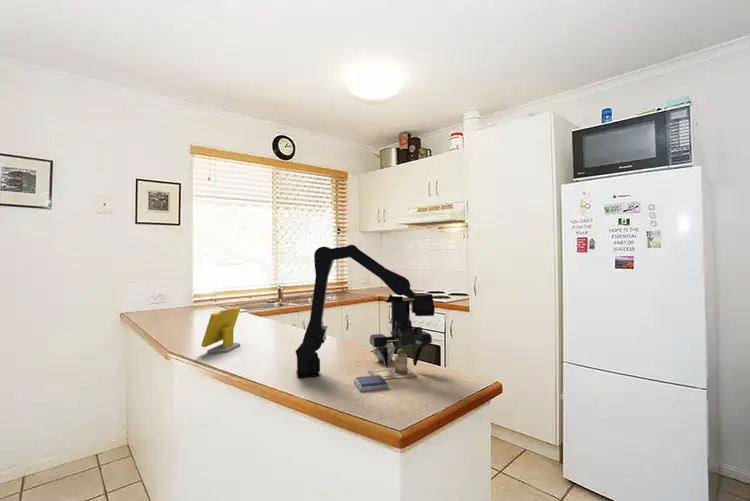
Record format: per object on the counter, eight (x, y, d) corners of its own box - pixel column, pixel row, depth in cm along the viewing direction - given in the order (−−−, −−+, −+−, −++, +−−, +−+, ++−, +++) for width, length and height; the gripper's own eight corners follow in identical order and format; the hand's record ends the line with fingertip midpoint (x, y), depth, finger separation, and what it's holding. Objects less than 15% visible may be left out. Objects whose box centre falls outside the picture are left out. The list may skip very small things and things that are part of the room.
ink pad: (359, 391, 104) (359, 385, 104) (354, 383, 111) (354, 377, 111) (388, 388, 106) (388, 382, 106) (380, 380, 113) (380, 374, 113)
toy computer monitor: (228, 342, 164) (228, 305, 164) (246, 343, 163) (245, 305, 163) (201, 355, 144) (200, 312, 144) (220, 355, 143) (220, 313, 143)
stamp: (393, 370, 121) (392, 348, 121) (404, 369, 122) (404, 347, 122) (397, 374, 117) (396, 351, 118) (409, 373, 119) (409, 350, 119)
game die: (388, 373, 132) (394, 354, 127) (365, 363, 134) (370, 343, 128) (396, 354, 139) (402, 336, 134) (374, 345, 141) (379, 326, 135)
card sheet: (375, 380, 113) (375, 379, 113) (367, 371, 122) (367, 370, 122) (416, 376, 117) (416, 375, 117) (406, 367, 125) (406, 366, 125)
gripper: (379, 322, 110) (379, 377, 110) (439, 318, 115) (439, 371, 115) (369, 316, 121) (369, 366, 121) (424, 313, 126) (424, 361, 126)
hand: (401, 366), depth 120 cm, fingers open, 9 cm apart
